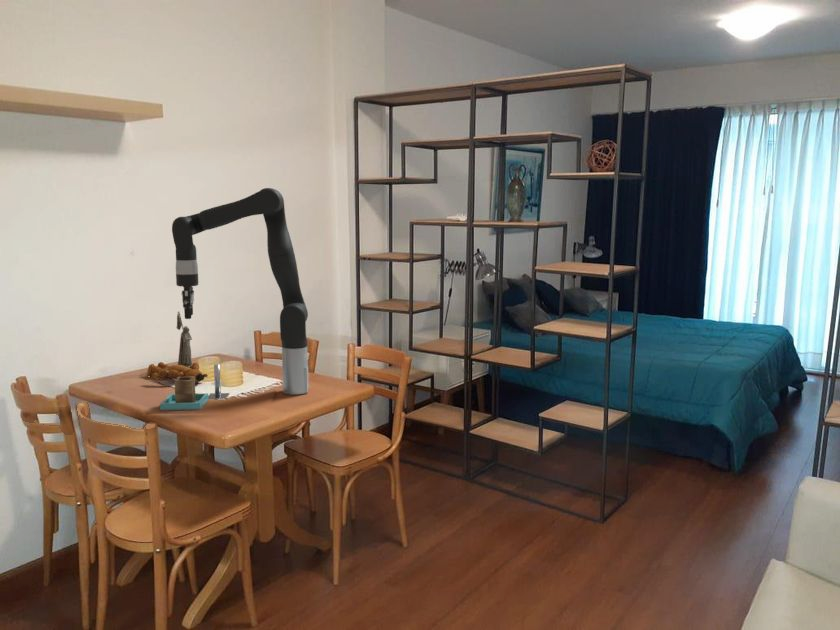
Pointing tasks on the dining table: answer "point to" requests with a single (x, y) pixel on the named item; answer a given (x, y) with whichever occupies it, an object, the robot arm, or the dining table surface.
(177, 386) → the sleeve
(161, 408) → the tray
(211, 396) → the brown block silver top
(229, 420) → the dining table surface
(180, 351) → the wizard figurine
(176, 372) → the toy
